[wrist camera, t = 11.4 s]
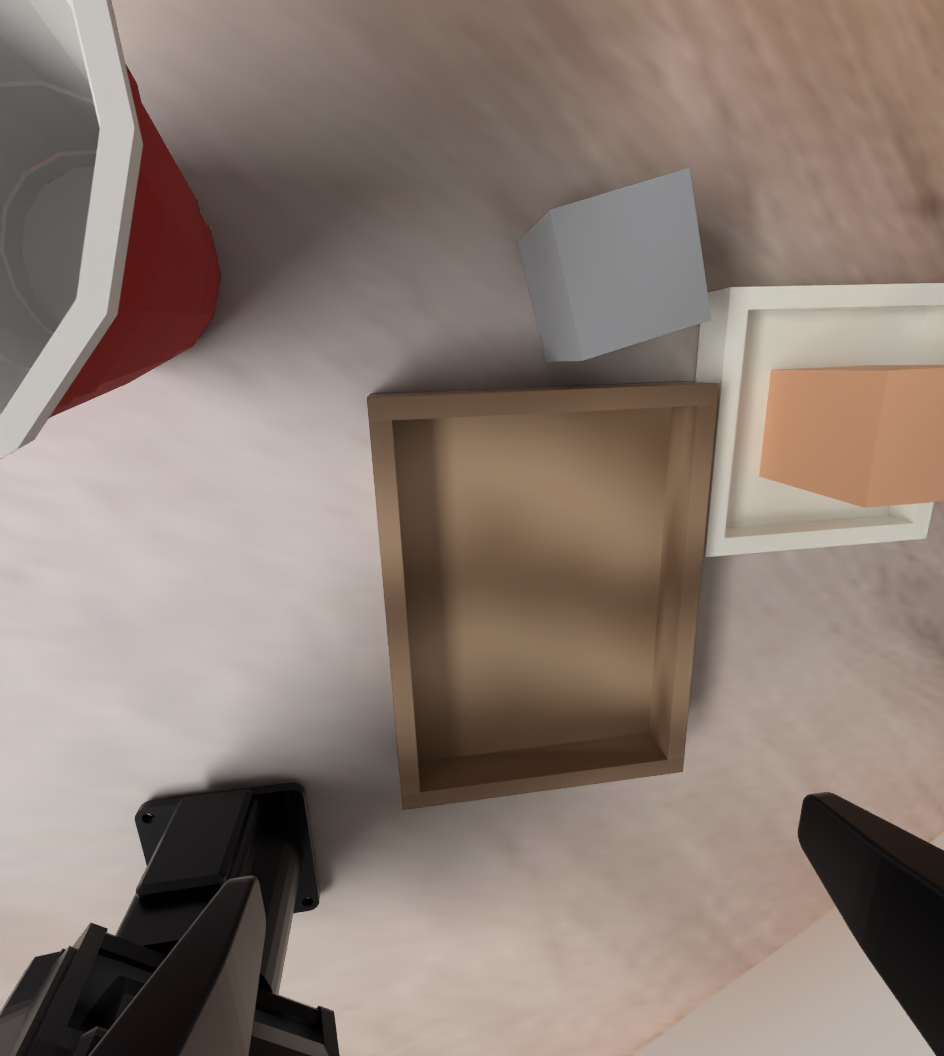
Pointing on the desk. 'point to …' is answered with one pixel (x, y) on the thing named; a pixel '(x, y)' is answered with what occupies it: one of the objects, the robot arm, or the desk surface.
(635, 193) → the slate rubber block
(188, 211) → the plastic cup
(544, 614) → the walnut box
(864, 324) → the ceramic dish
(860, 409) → the terracotta block
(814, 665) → the desk surface
